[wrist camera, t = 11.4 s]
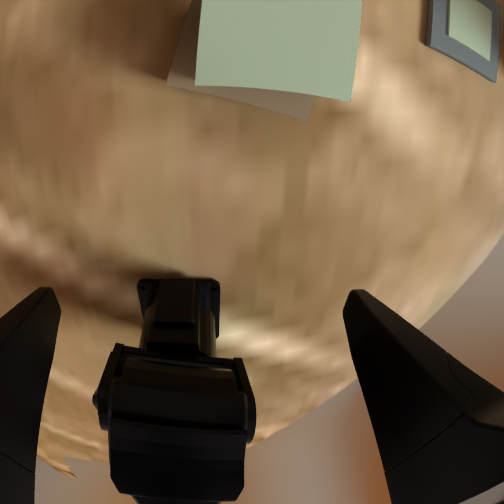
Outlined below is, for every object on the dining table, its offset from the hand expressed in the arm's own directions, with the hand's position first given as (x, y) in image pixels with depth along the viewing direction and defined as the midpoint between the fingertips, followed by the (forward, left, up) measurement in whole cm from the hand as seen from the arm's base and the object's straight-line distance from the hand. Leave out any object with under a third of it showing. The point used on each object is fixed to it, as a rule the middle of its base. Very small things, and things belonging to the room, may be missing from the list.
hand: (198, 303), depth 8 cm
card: (+15, -18, -12) cm, 26 cm away
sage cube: (+8, -2, -8) cm, 12 cm away
